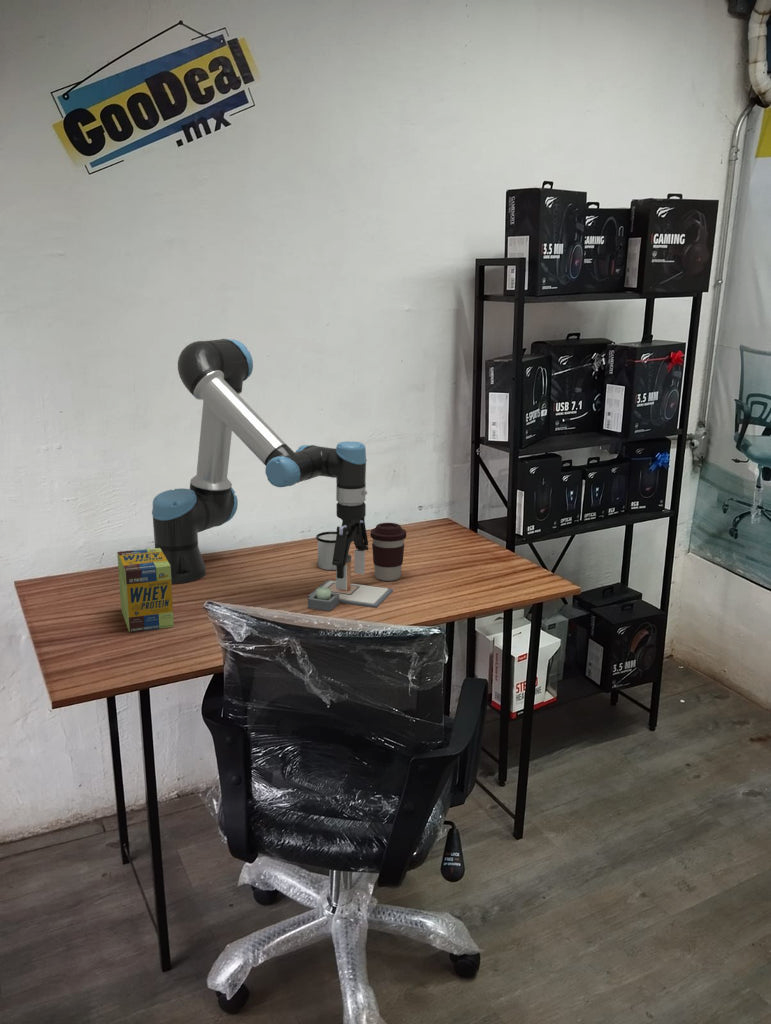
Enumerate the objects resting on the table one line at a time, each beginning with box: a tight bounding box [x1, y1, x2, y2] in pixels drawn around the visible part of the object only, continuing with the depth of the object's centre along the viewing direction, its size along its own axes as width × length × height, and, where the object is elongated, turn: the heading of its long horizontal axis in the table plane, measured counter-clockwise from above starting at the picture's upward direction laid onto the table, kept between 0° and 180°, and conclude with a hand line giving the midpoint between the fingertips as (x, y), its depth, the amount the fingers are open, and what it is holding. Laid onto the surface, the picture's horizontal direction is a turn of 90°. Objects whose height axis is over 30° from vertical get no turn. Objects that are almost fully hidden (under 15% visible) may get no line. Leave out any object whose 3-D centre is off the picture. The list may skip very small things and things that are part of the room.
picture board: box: [307, 579, 394, 609], centre depth 223 cm, size 19×13×1 cm
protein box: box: [116, 547, 175, 634], centre depth 203 cm, size 10×15×16 cm
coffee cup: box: [369, 522, 407, 582], centre depth 235 cm, size 10×10×15 cm
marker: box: [339, 553, 352, 591], centre depth 223 cm, size 3×3×9 cm
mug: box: [315, 531, 337, 571], centre depth 246 cm, size 12×10×9 cm
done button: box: [316, 587, 331, 600], centre depth 215 cm, size 4×4×3 cm
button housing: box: [307, 592, 340, 612], centre depth 215 cm, size 6×6×2 cm
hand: (350, 581), depth 223 cm, fingers open, 12 cm apart
